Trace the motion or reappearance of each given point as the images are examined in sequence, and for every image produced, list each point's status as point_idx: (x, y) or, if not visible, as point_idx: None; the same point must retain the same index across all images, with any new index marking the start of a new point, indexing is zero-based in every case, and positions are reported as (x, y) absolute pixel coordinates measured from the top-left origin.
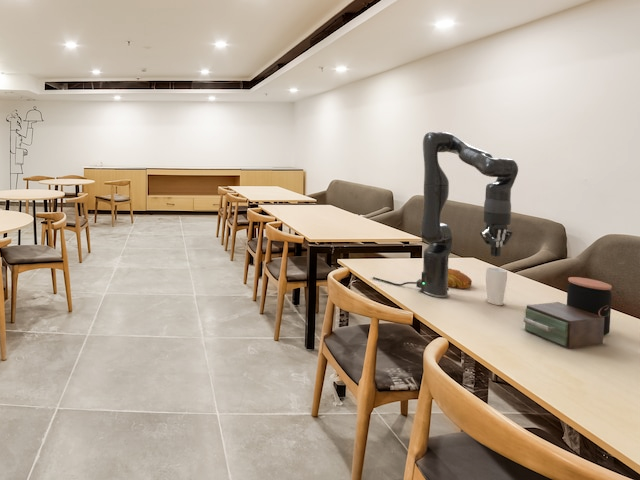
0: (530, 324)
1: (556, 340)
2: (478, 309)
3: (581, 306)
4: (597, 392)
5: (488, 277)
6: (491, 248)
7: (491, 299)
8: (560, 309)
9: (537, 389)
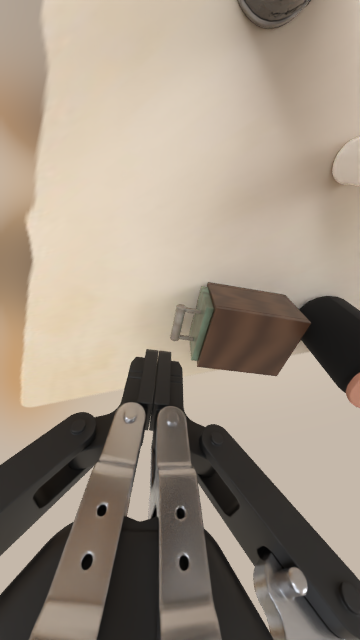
0: (200, 300)
1: (191, 327)
2: (247, 171)
3: (318, 346)
4: (99, 378)
5: None
6: (123, 394)
7: (341, 160)
8: (254, 341)
9: (33, 359)
